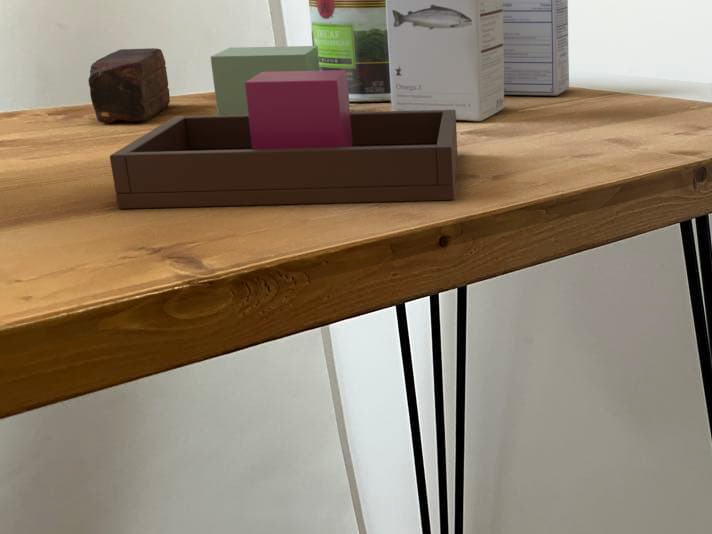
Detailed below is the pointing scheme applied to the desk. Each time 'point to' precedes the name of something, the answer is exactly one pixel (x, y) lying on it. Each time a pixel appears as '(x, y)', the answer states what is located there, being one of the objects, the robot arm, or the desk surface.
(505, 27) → the medicine box
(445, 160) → the tray
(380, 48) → the coffee can
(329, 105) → the top block
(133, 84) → the brick
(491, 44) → the white packaging box
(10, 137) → the desk surface
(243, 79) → the base block
